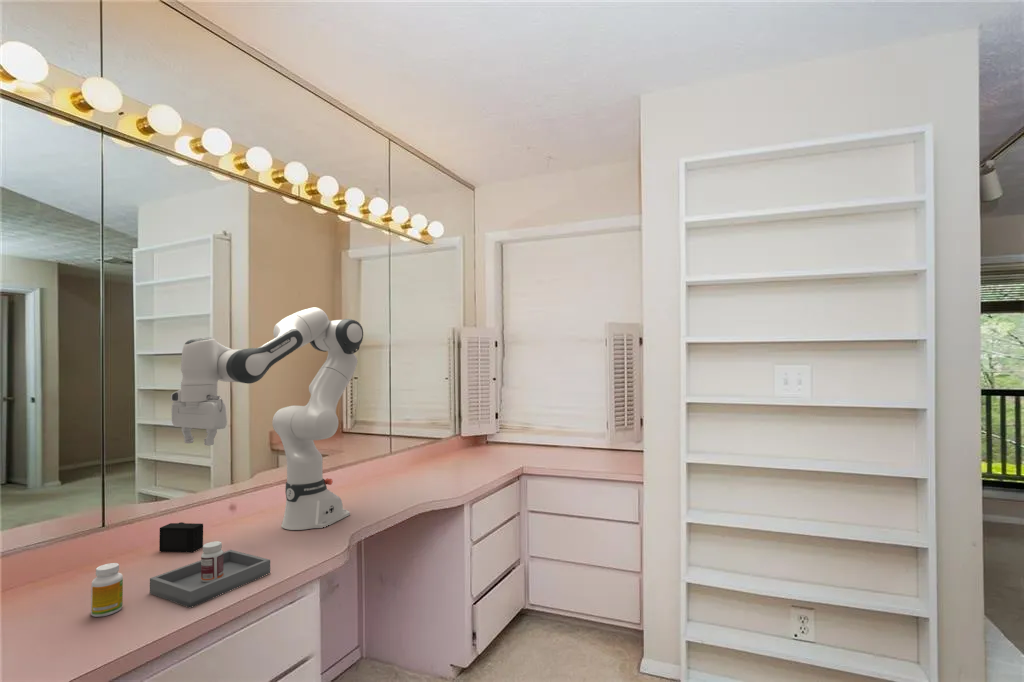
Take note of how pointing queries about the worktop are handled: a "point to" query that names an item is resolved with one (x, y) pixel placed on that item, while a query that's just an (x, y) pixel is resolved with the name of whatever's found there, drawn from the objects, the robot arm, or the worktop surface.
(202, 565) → the pill bottle
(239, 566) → the tray
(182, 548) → the digital camera
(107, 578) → the supplement bottle
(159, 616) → the worktop surface
